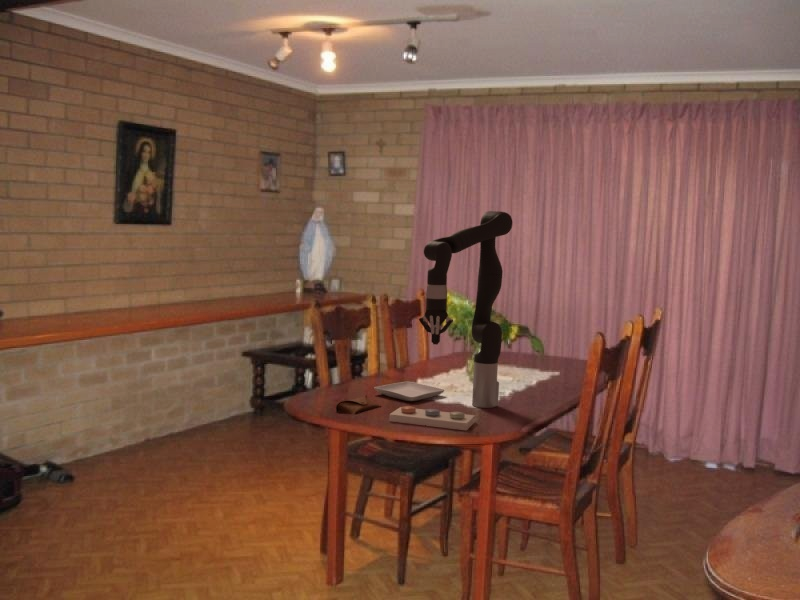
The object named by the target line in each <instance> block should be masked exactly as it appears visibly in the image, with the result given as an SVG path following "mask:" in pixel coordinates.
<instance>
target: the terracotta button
mask: <svg viewBox="0 0 800 600" xmlns="http://www.w3.org/2000/svg"><path fill="white" fill-rule="evenodd" d="M400 407H401V411H402V412H404V413H408V414H413V413H414V412H416V409H417V408H416V407H415V406H410V405H406V406H400Z"/></svg>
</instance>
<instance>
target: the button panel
mask: <svg viewBox="0 0 800 600" xmlns="http://www.w3.org/2000/svg"><path fill="white" fill-rule="evenodd" d="M401 407H402V406H400V407H399V408H397V409H395V410H394V411H392V412H391V413H389V419H388V421H389V422H394V423H400V424H401V423H402V424H410V425H419V426H425V425H426V427H427V426H428V427H435V428H441V429H442V428H443V429H450V430H460V431H468V430H469V428H470V427H471V426H472V425H474V424H475V423H476V422H475V421H476V415H474V414H466V413H464V414H465V417H464V418H462V419H461V420H460V419H453V418H451V417H450V412H447V411H441V410H440V415H438V416H437V417H434V416H428V415H426V414H425V410H426V409H421V408H416V412H414V413H413V414H408V413H404V412H402V411H401Z"/></svg>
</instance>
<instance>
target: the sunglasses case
mask: <svg viewBox="0 0 800 600" xmlns="http://www.w3.org/2000/svg"><path fill="white" fill-rule="evenodd" d="M381 407H382V406H381V405H379V403H377V402H375V401H374V400H372V399H371V398H369V397H368V395H367V394H365V395H363V396H360V397H356V398H352V399H348V400H342V401H340V402H338V403H337V404H336V408H335V410H336V412H338V413H342V414H347V415H352V416H354V414H355V415H357V414H359V413H363V412H366V411H369V410H372V409H377V408H381Z"/></svg>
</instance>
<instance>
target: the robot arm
mask: <svg viewBox="0 0 800 600" xmlns="http://www.w3.org/2000/svg"><path fill="white" fill-rule="evenodd" d="M512 228H513V218H512V216H511V215H510V213H508V212H505V211H501V210H500V211H498V210H497V211H495V210H494V211H493V210H491V211H490V210H489V211H486V212H484V213H483V214H482V216H481V219H480V224H479V225H476V226H471V227H467V228H464V229H460V230H458V231H455V232H454V233H451V234H450V235H447V236H444V237H440V238H436V239H434V240H433V239H432V240H431V241H429V242H428V243H426V244H425V246H424V248H423V255H424V257H425V258H426V259H427V260H429V261H431V262H435V264H434V267H431V268H429V269H428V271H427V279H426V280H427V282H426V283H427V285H426V292H425V293H426V294H425V299H426V300H425V312H424V315H423V316H422V317H420V318H418V321H419V322H420V324H421V325H422V327H423V329H424V330H425V331H426V332H427V333H430V334H431V343H432V345H435V346H436V345H438V344H439V343H440V342H441V334H444V333H445V332H446V331H447V330H448V328H450V327H451V325H453V322H454V319H453V318H450V317H449V314H448V311H447V310H448V306H447V305H448V287H447V285H448V271H449V268H450V265H451V262H452V257H453V254H457V253H460V252H462V251H464V250H466V249H469V248H471V247H473V246H474V245H476V244H479V243H480V247H479V267H478V275H477V287H476V288H477V290H476V299H475V307H474V308H475V309H474V313H473V319H472V323H471V324H472V325H471V337H472V339H473V340H474V342H476V343H478V344H480V351H479V352H477V353H475V354H474V356H473V379H472V401H471V404H472V406H474V407H477V408H481V409H482V408H483V409H493V408H495V407H499V392H500V382H499V381H498V365H499V357H500V356H501V350H502V340H503V339H502V338H503V332H502V331H503V330H502V328H501V325H500V324H499V323H497V322H494V321H491V318H492V316H491V315H492V308H493V305H494V303H495V300H496V299H497V298H498V296H499V294H500V292H501V289H502V282H503V272H504V271H503V265H502V263H501V260H500V258H499V255H498V253H497V250H496V249H497V248H496V239H497V238H498V237H502V236H505V235H507V234H509V233H510V231H511V230H512ZM443 323H445V324H444V326H443V327H442V325H443ZM429 324H430V325H429Z"/></svg>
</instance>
